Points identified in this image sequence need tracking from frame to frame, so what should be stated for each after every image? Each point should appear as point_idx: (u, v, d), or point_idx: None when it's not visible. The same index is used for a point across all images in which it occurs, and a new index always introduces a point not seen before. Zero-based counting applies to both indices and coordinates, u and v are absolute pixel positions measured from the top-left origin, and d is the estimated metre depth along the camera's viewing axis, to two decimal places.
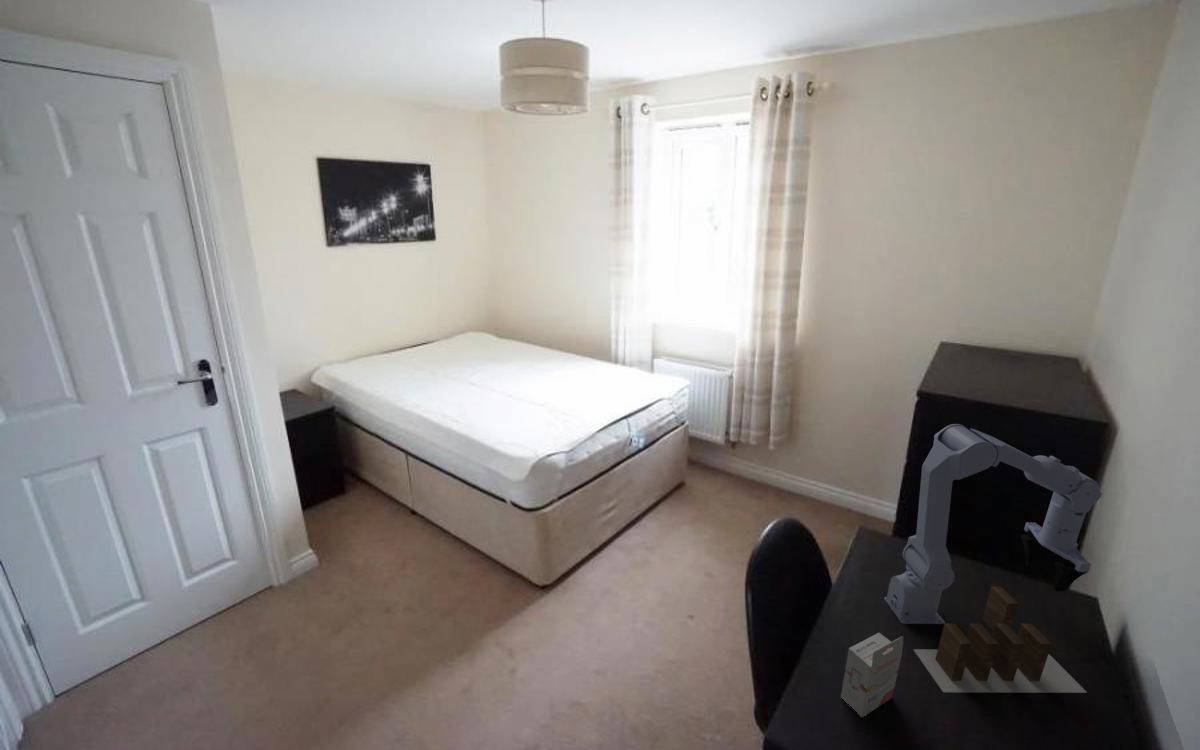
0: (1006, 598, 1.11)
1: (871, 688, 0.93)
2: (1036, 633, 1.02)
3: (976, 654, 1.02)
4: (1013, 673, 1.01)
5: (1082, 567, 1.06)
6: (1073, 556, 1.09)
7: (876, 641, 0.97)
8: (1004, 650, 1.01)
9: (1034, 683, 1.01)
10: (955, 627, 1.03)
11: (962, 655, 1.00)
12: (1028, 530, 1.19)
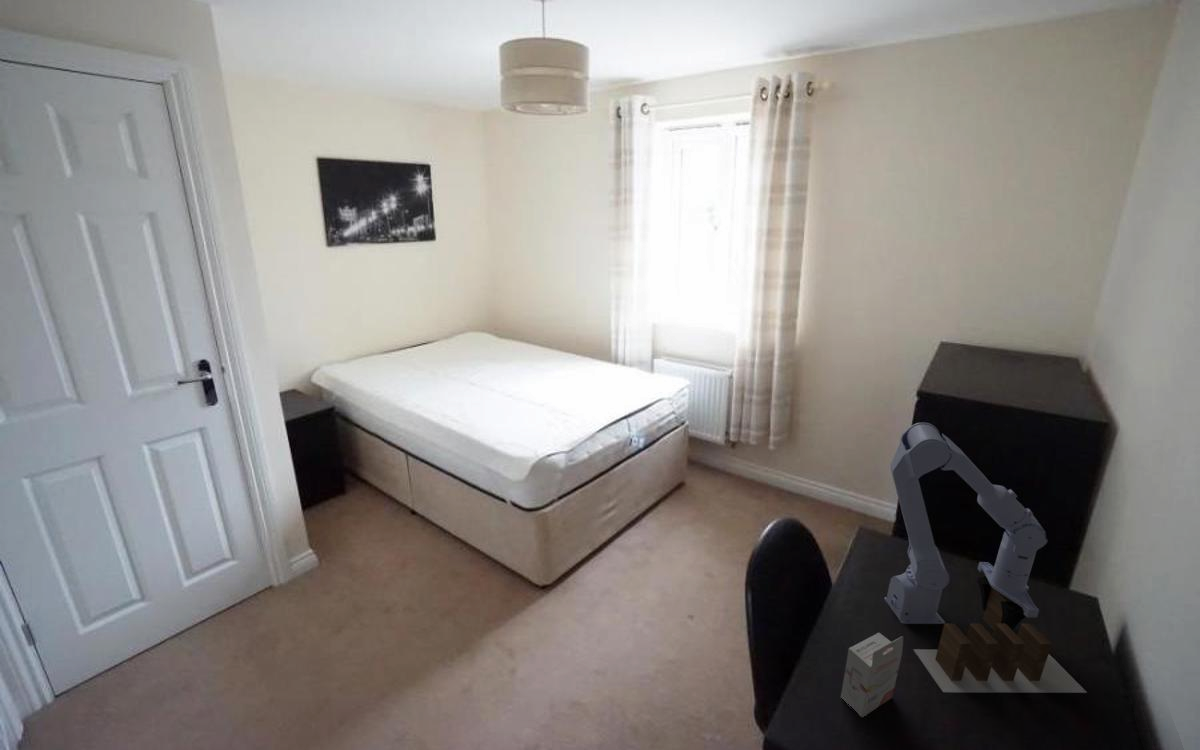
0: (1006, 598, 1.11)
1: (871, 688, 0.93)
2: (1036, 633, 1.02)
3: (976, 654, 1.02)
4: (1013, 673, 1.01)
5: (1030, 612, 1.05)
6: (1022, 600, 1.07)
7: (876, 641, 0.97)
8: (1004, 650, 1.01)
9: (1034, 683, 1.01)
10: (955, 627, 1.03)
11: (962, 655, 1.00)
12: (981, 570, 1.18)
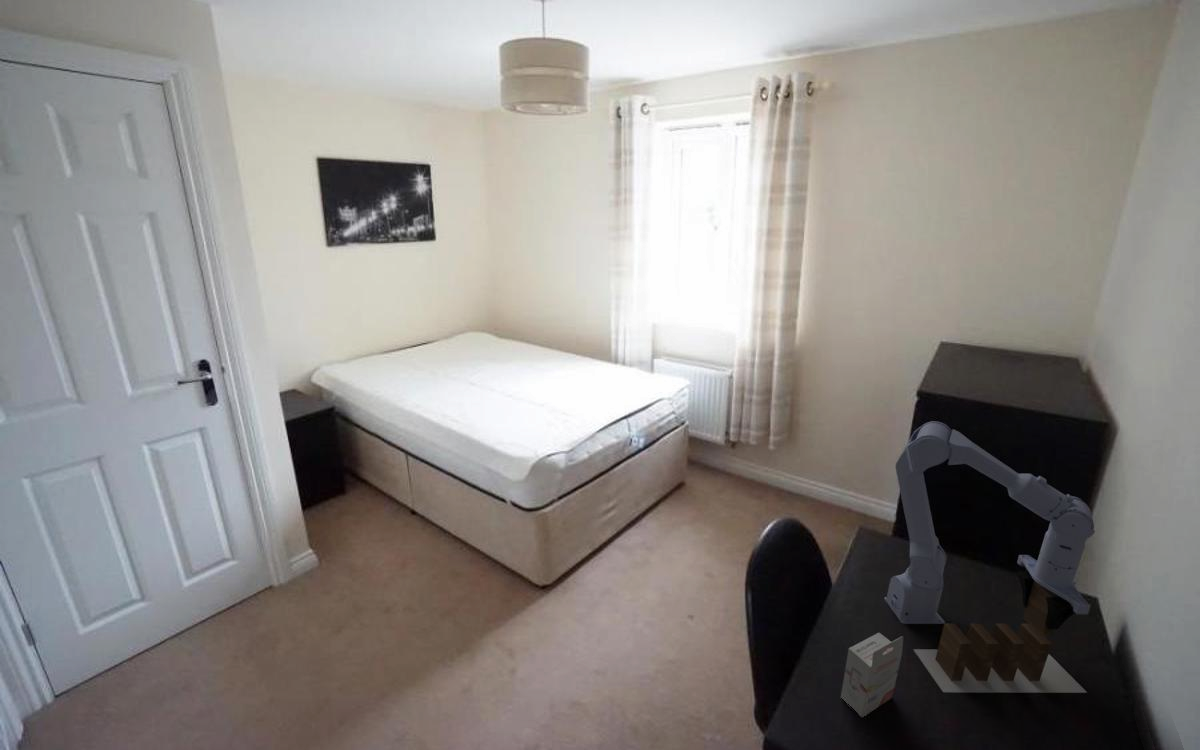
0: (1051, 593, 1.02)
1: (871, 688, 0.93)
2: (1036, 633, 1.02)
3: (976, 654, 1.02)
4: (1013, 673, 1.01)
5: (1081, 608, 0.96)
6: (1071, 596, 0.98)
7: (876, 641, 0.97)
8: (1004, 650, 1.01)
9: (1034, 683, 1.01)
10: (955, 627, 1.03)
11: (962, 655, 1.00)
12: (1021, 564, 1.09)
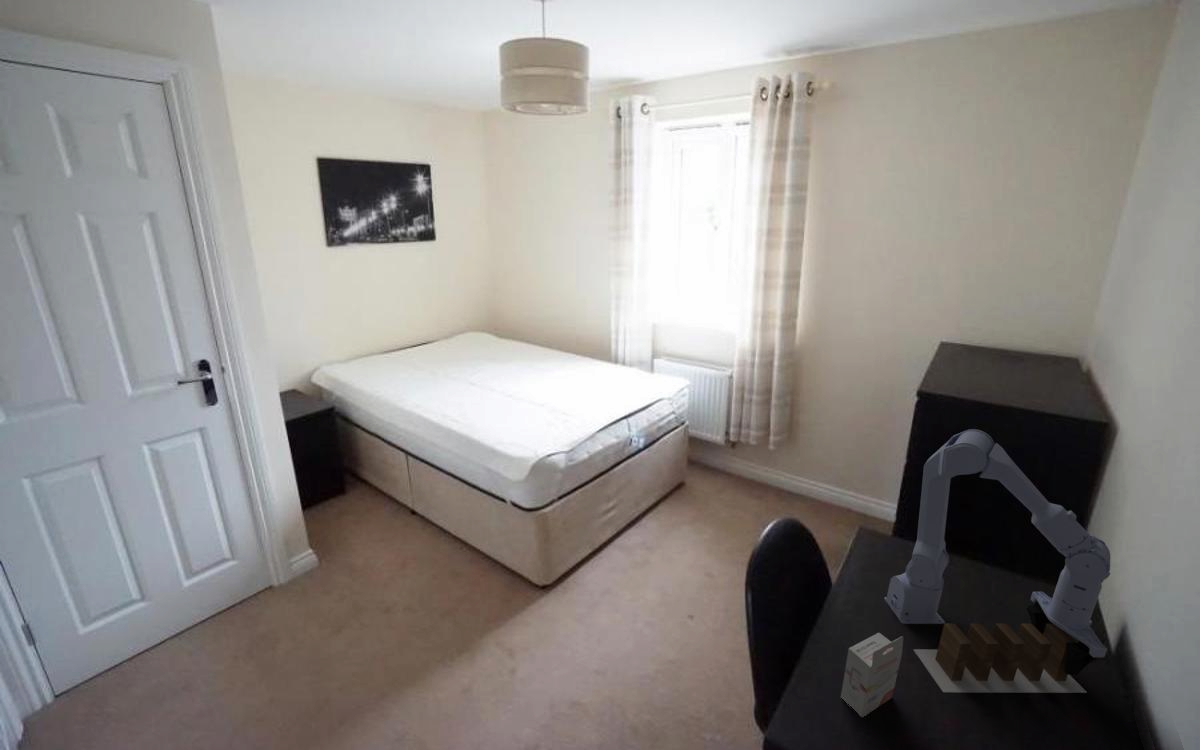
0: (1064, 637, 1.00)
1: (871, 688, 0.93)
2: (1036, 633, 1.02)
3: (976, 654, 1.02)
4: (1013, 673, 1.01)
5: (1098, 652, 0.94)
6: (1087, 638, 0.96)
7: (876, 641, 0.97)
8: (1004, 650, 1.01)
9: (1034, 683, 1.01)
10: (955, 627, 1.03)
11: (962, 655, 1.00)
12: (1035, 600, 1.07)
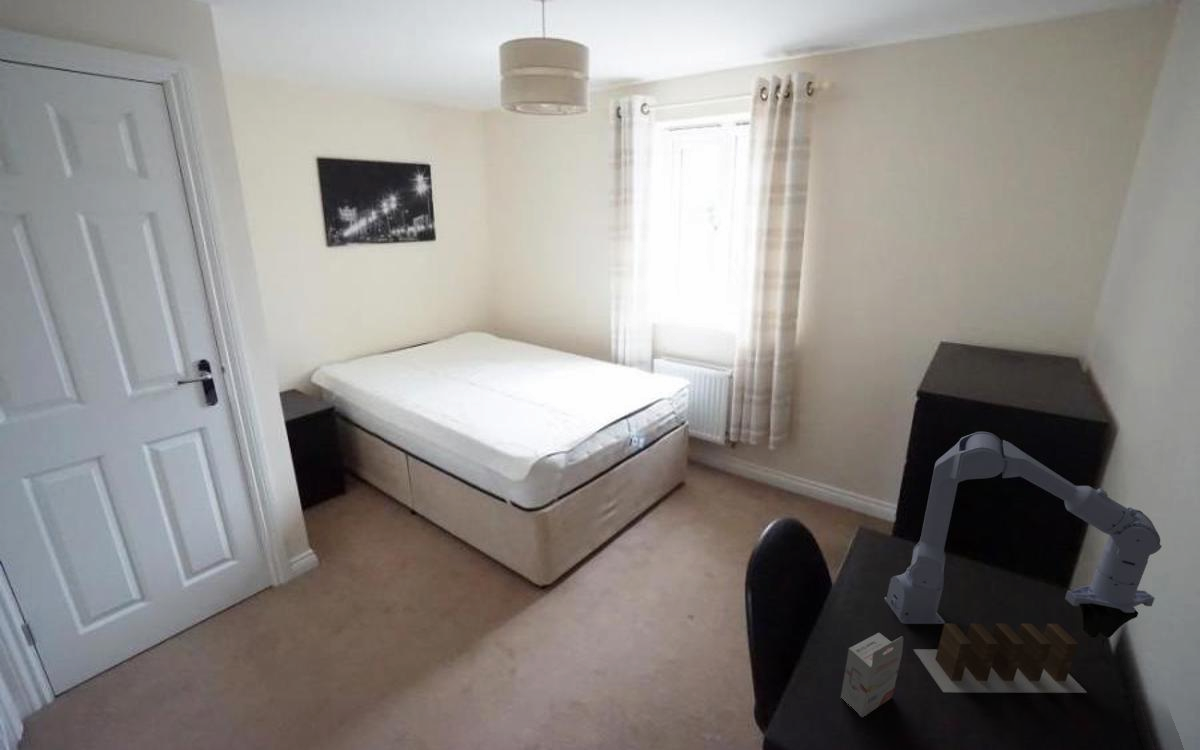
0: (1065, 638, 1.00)
1: (871, 688, 0.93)
2: (1036, 633, 1.02)
3: (976, 654, 1.02)
4: (1013, 673, 1.01)
5: (1068, 595, 0.99)
6: (1083, 593, 0.99)
7: (876, 641, 0.97)
8: (1004, 650, 1.01)
9: (1034, 683, 1.01)
10: (955, 627, 1.03)
11: (962, 655, 1.00)
12: None
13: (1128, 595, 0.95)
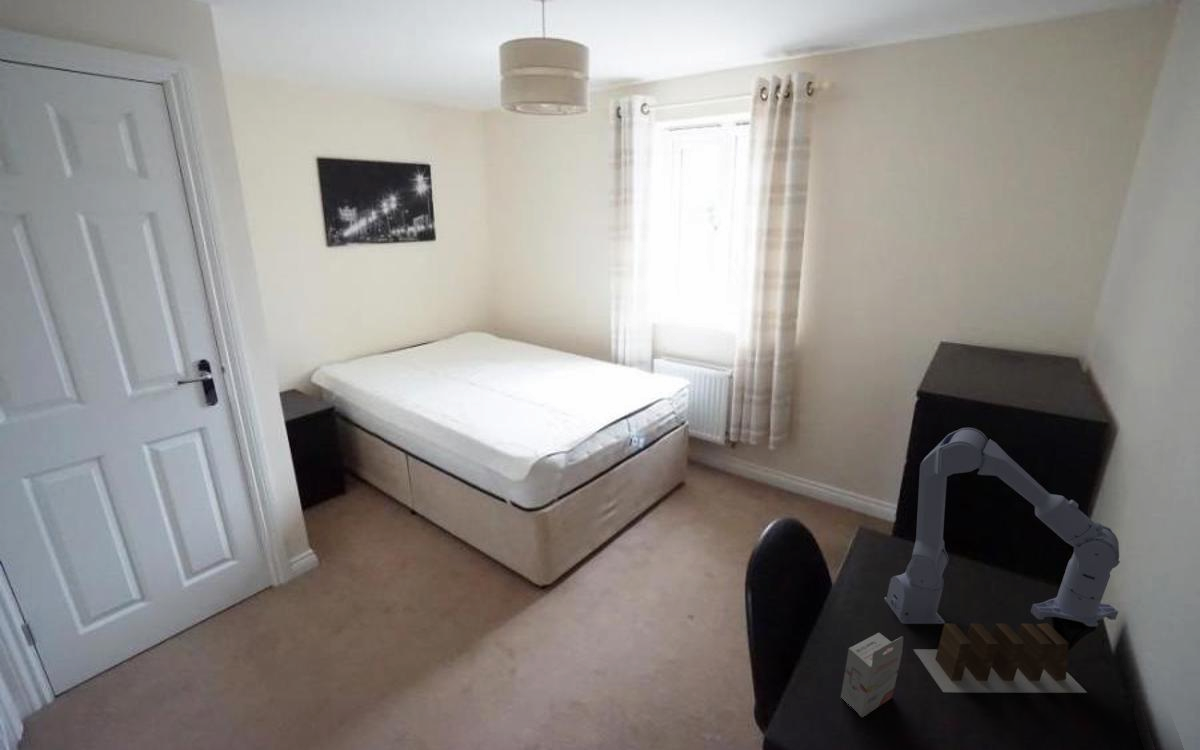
0: (1054, 638, 1.00)
1: (871, 688, 0.93)
2: (1036, 633, 1.02)
3: (976, 654, 1.02)
4: (1013, 673, 1.01)
5: (1033, 608, 1.00)
6: (1048, 606, 1.00)
7: (876, 641, 0.97)
8: (1004, 650, 1.01)
9: (1034, 683, 1.01)
10: (955, 627, 1.03)
11: (962, 655, 1.00)
12: None
13: (1091, 609, 0.96)
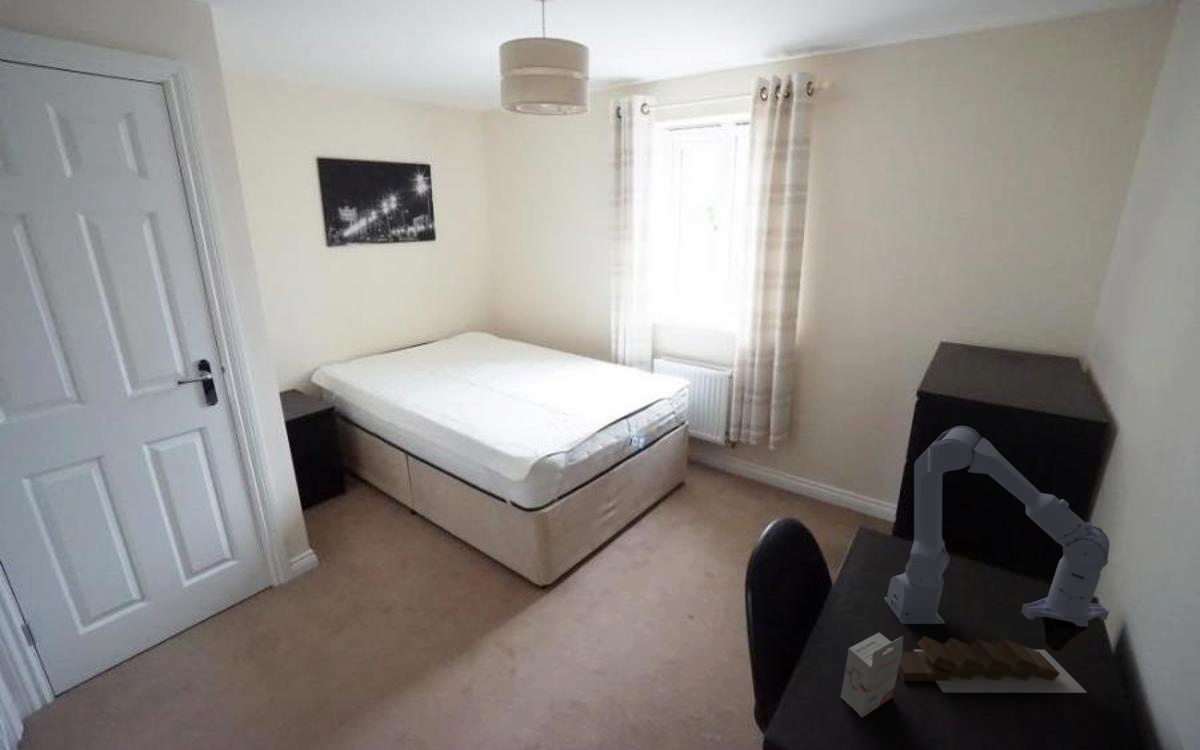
0: (1011, 657, 1.02)
1: (871, 688, 0.93)
2: (982, 650, 1.03)
3: None
4: (996, 671, 1.01)
5: (1024, 608, 1.00)
6: (1039, 606, 1.00)
7: (876, 641, 0.97)
8: None
9: (1034, 683, 1.01)
10: None
11: (918, 677, 1.02)
12: None
13: (1082, 609, 0.96)
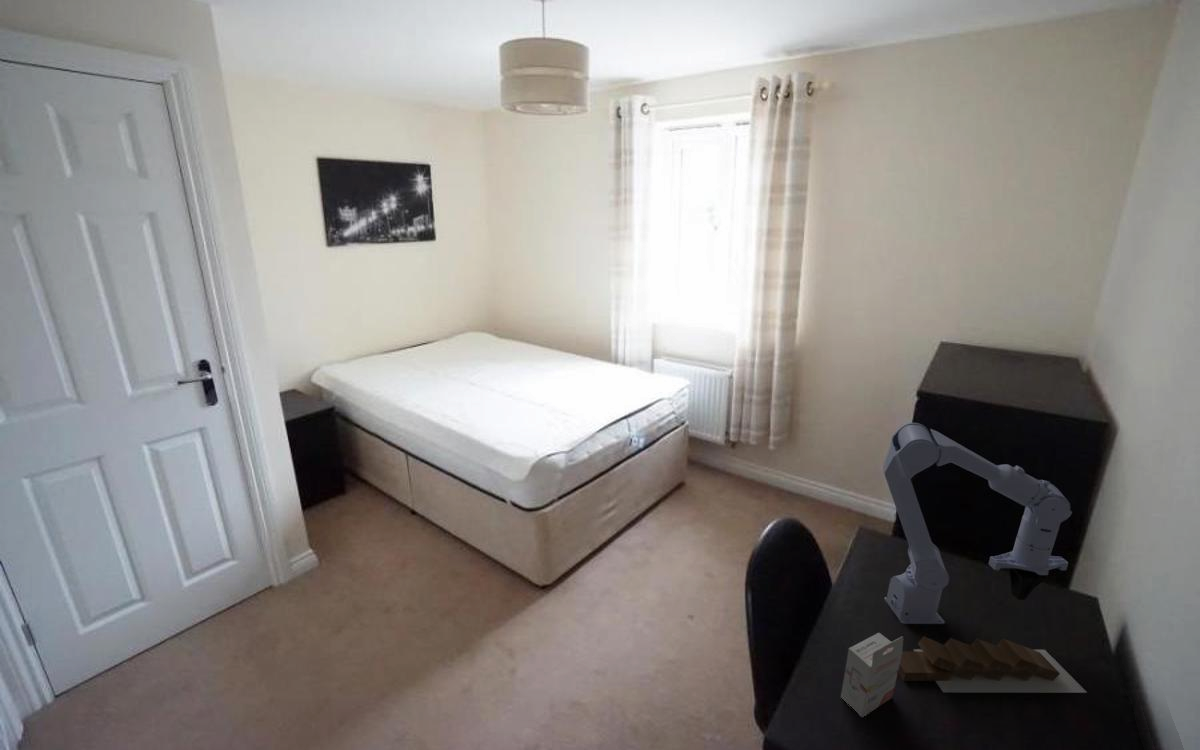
0: (1011, 657, 1.02)
1: (871, 688, 0.93)
2: (982, 650, 1.03)
3: None
4: (996, 671, 1.01)
5: (991, 560, 1.09)
6: (1004, 558, 1.08)
7: (876, 641, 0.97)
8: None
9: (1034, 683, 1.01)
10: None
11: (918, 677, 1.02)
12: None
13: (1042, 559, 1.05)
